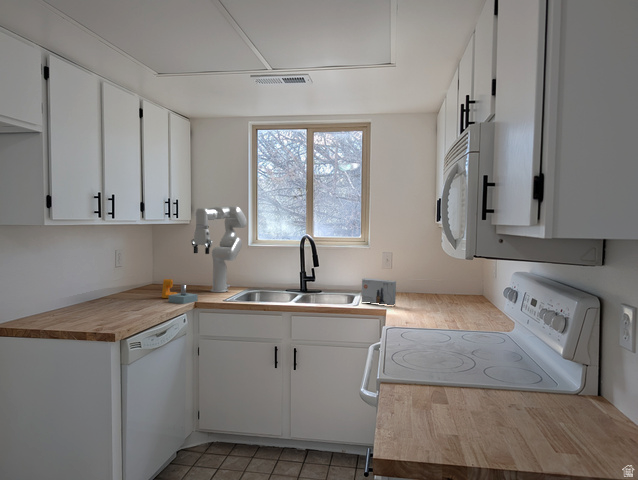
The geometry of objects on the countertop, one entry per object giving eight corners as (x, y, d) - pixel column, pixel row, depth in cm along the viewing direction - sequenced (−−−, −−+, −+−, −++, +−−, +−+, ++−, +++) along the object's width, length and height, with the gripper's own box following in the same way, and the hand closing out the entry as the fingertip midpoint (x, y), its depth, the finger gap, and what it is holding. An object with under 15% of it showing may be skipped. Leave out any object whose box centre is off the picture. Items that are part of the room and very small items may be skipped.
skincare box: (360, 303, 270) (361, 278, 269) (364, 302, 274) (364, 277, 274) (393, 307, 260) (393, 281, 259) (395, 306, 265) (396, 280, 264)
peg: (183, 300, 263) (183, 284, 263) (186, 301, 262) (187, 285, 262) (179, 301, 261) (179, 285, 260) (183, 302, 259) (183, 285, 259)
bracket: (173, 299, 268) (173, 280, 267) (161, 299, 267) (162, 280, 267) (177, 296, 278) (177, 278, 278) (166, 296, 278) (166, 277, 277)
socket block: (182, 298, 269) (183, 292, 269) (197, 300, 264) (197, 294, 264) (168, 301, 258) (168, 295, 258) (183, 303, 253) (183, 297, 253)
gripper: (216, 227, 277) (215, 254, 278) (195, 227, 285) (195, 252, 286) (208, 227, 271) (207, 254, 271) (187, 227, 278) (187, 253, 279)
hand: (201, 253), depth 279 cm, fingers open, 9 cm apart
